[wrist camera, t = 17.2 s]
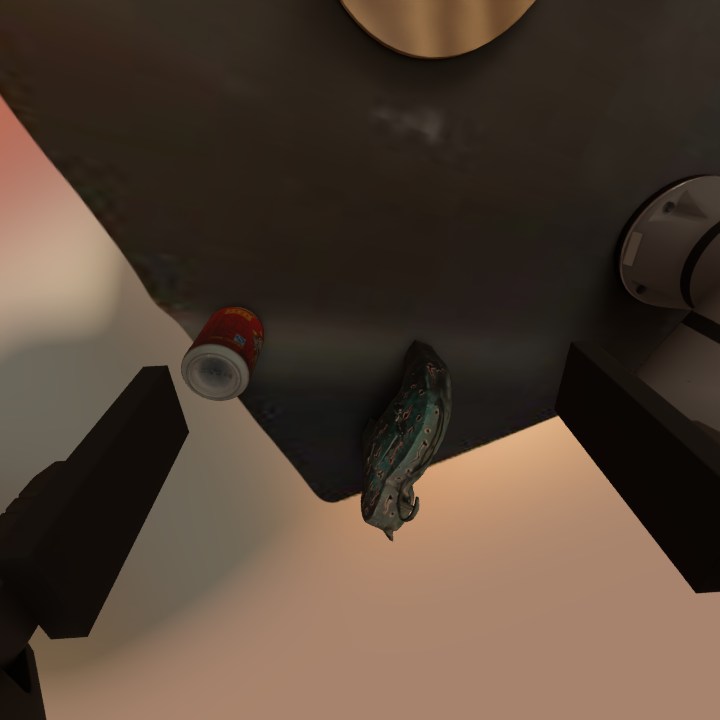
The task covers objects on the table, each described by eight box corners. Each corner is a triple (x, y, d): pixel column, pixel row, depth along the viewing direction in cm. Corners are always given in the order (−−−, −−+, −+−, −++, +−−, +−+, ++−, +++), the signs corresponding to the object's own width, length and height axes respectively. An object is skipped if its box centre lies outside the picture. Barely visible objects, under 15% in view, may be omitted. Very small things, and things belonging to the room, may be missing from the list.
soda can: (264, 354, 54) (246, 409, 43) (211, 347, 53) (178, 401, 42) (268, 306, 51) (249, 352, 40) (211, 297, 50) (176, 342, 39)
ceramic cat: (383, 448, 63) (400, 567, 46) (345, 436, 62) (348, 555, 45) (445, 345, 55) (494, 444, 37) (402, 329, 53) (433, 425, 36)
